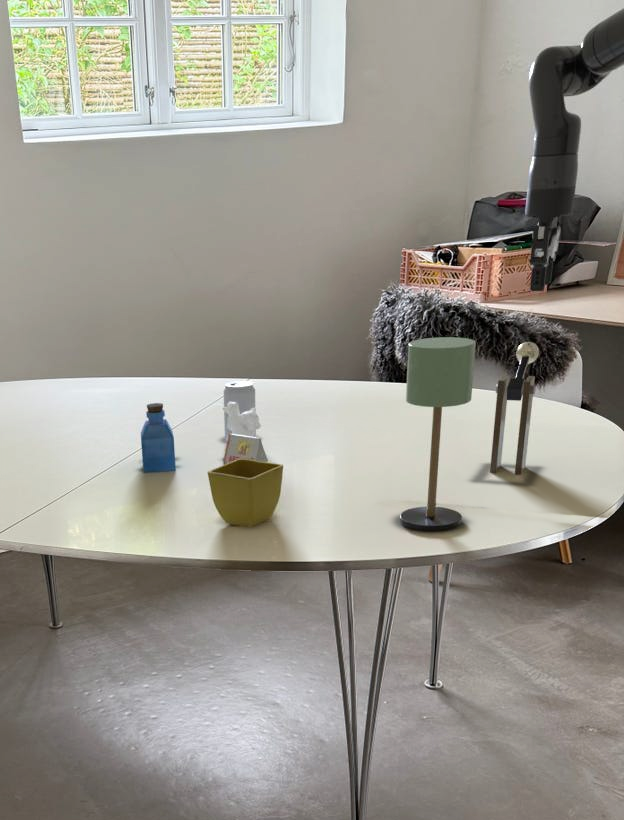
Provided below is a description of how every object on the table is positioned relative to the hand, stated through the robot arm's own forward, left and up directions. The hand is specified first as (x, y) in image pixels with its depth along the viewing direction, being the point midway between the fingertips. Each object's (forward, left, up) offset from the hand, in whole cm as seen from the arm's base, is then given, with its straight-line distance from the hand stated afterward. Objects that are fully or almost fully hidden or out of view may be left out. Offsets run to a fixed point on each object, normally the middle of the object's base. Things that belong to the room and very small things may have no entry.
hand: (540, 287), depth 166 cm
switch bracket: (+13, +15, -28) cm, 35 cm away
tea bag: (+56, +3, -29) cm, 63 cm away
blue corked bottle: (+66, -20, -29) cm, 75 cm away
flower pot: (+61, +18, -29) cm, 70 cm away
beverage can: (+46, -30, -29) cm, 62 cm away
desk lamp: (+36, +31, -28) cm, 55 cm away
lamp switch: (+9, +11, -13) cm, 19 cm away
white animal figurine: (+51, -15, -29) cm, 60 cm away
